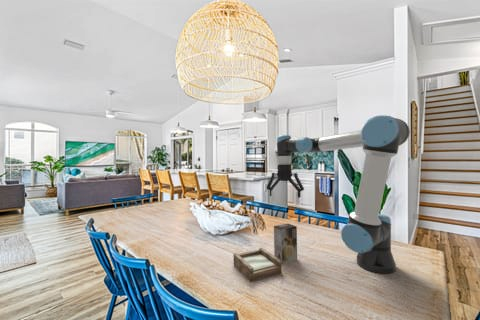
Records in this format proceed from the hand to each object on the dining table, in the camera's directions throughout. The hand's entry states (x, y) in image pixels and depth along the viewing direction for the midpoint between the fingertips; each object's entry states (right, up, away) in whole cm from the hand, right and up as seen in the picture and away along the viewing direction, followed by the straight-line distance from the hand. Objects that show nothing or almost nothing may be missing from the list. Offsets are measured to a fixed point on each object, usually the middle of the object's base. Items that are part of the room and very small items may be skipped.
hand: (284, 202), depth 127 cm
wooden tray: (-17, -24, -25) cm, 39 cm away
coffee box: (-3, -24, -16) cm, 29 cm away
